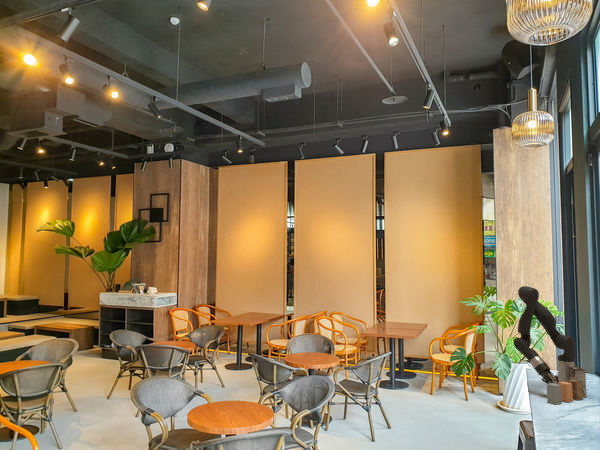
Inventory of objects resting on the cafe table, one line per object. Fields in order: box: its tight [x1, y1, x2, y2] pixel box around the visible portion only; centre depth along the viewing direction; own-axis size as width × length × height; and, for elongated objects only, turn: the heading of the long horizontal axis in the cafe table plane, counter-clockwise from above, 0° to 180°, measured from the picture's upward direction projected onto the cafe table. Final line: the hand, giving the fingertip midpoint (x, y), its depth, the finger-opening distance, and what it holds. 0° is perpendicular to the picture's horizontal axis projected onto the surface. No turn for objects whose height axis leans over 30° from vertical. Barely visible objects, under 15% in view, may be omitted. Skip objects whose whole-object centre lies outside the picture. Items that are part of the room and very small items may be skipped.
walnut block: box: [568, 380, 584, 401], centre depth 265 cm, size 5×5×10 cm
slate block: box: [546, 383, 563, 405], centre depth 256 cm, size 5×5×10 cm
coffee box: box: [569, 366, 588, 399], centre depth 273 cm, size 9×6×16 cm
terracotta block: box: [558, 381, 574, 403], centre depth 260 cm, size 5×5×10 cm
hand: (560, 391), depth 263 cm, fingers closed
